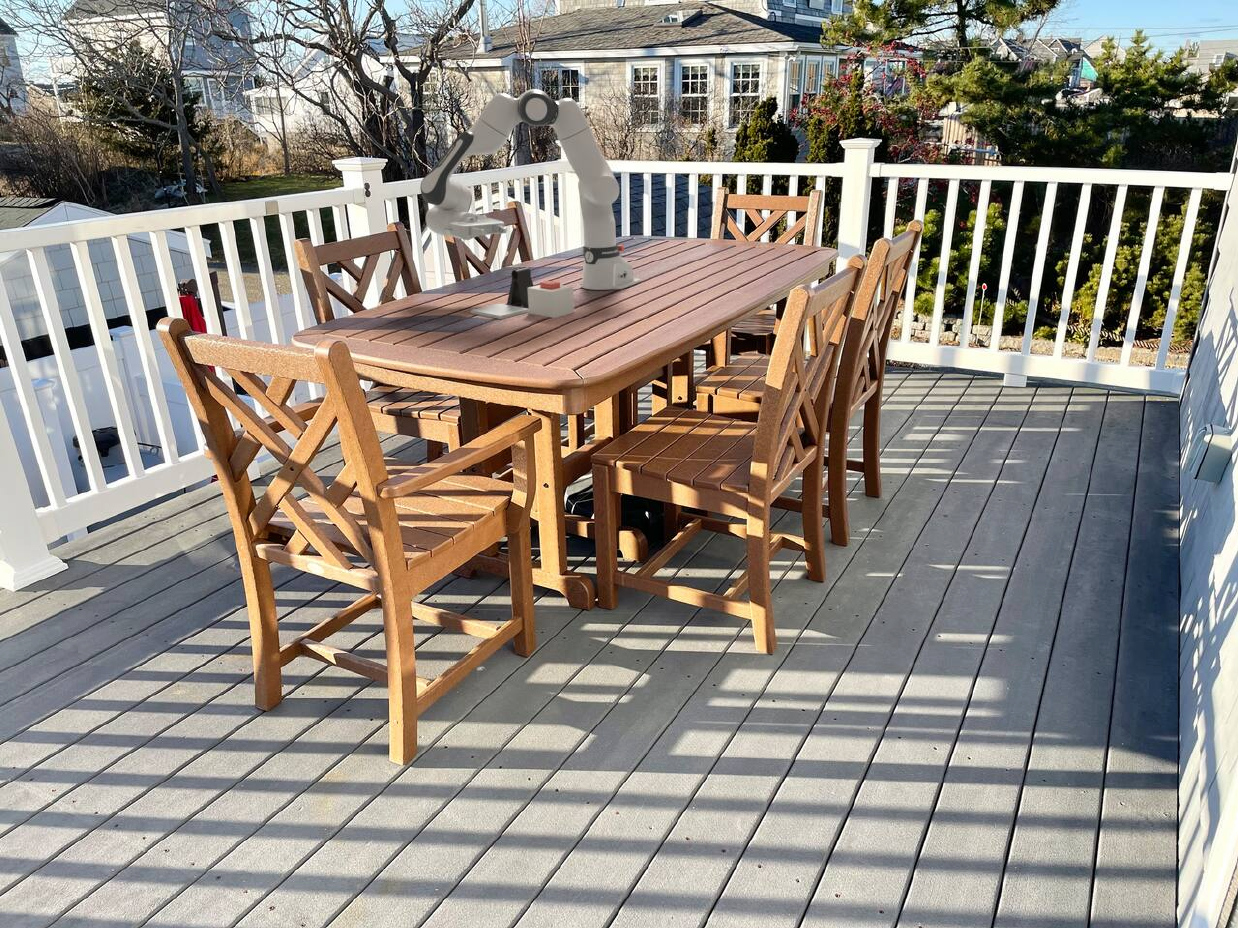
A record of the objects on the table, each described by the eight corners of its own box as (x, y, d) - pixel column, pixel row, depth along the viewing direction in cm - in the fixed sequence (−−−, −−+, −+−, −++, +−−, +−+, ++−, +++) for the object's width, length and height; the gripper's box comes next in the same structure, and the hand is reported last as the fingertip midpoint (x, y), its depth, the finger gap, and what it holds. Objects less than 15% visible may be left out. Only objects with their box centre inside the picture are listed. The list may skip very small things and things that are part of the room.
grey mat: (499, 306, 291) (499, 303, 291) (529, 311, 283) (528, 308, 282) (470, 313, 283) (470, 310, 283) (500, 319, 275) (500, 315, 274)
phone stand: (506, 306, 291) (504, 269, 287) (518, 302, 296) (516, 266, 291) (527, 309, 287) (525, 271, 282) (539, 305, 291) (537, 268, 286)
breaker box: (549, 308, 287) (548, 283, 284) (574, 312, 280) (573, 287, 277) (529, 313, 281) (527, 287, 278) (553, 318, 274) (552, 292, 271)
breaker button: (548, 290, 281) (548, 280, 280) (560, 292, 278) (559, 282, 277) (540, 292, 278) (540, 282, 277) (552, 294, 275) (551, 284, 274)
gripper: (440, 217, 288) (471, 223, 280) (486, 214, 303) (516, 220, 295) (441, 237, 290) (471, 244, 282) (486, 233, 305) (516, 239, 298)
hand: (494, 231), depth 289 cm, fingers open, 8 cm apart
